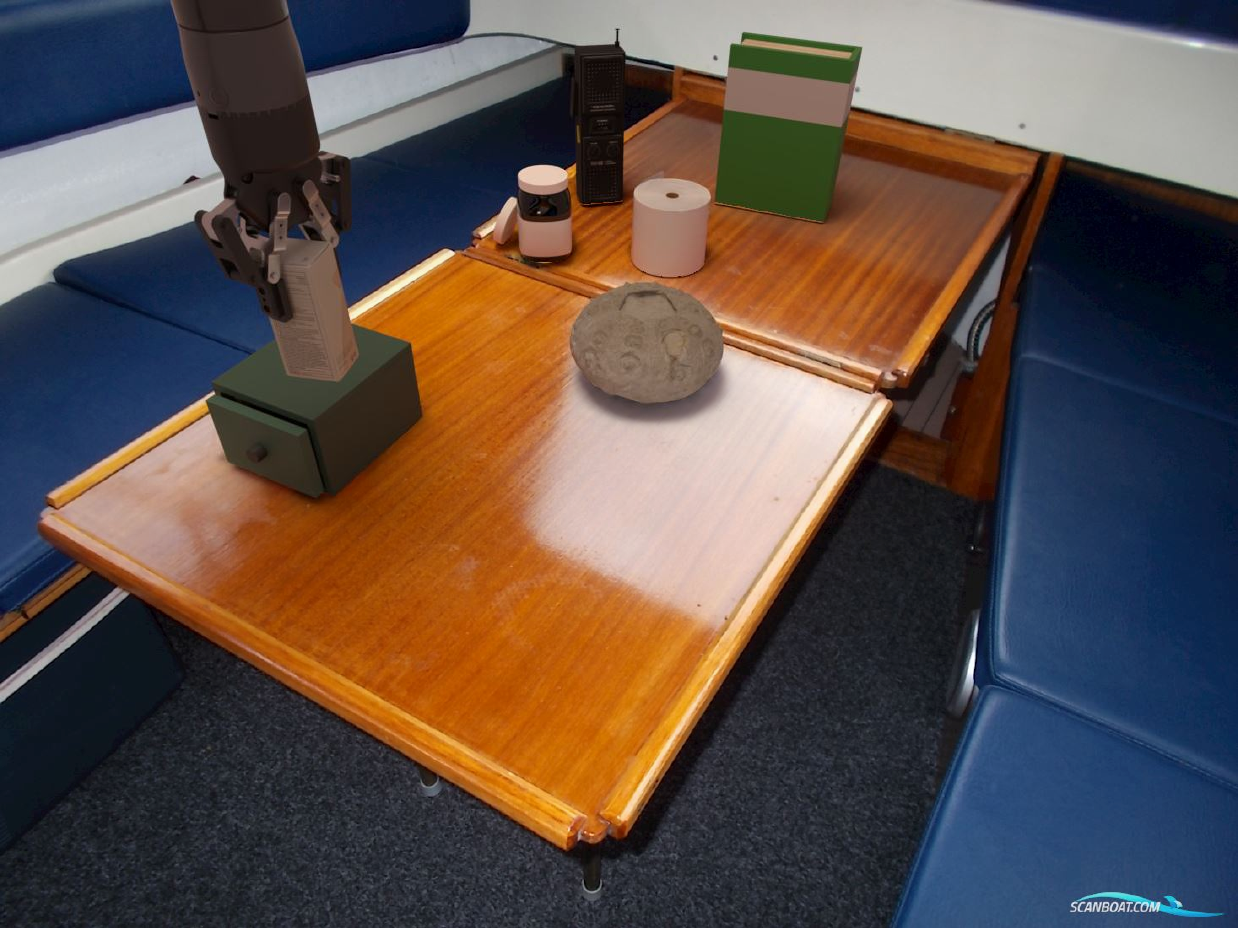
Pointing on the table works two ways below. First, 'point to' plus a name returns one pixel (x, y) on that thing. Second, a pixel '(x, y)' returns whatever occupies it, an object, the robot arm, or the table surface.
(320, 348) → the box
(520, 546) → the table surface
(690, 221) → the toilet tissue
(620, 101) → the portable radio
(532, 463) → the table surface
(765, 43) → the hardback book
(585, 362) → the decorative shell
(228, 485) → the table surface
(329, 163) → the robot arm
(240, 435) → the drawer
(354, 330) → the cabinet
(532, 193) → the spread jar
